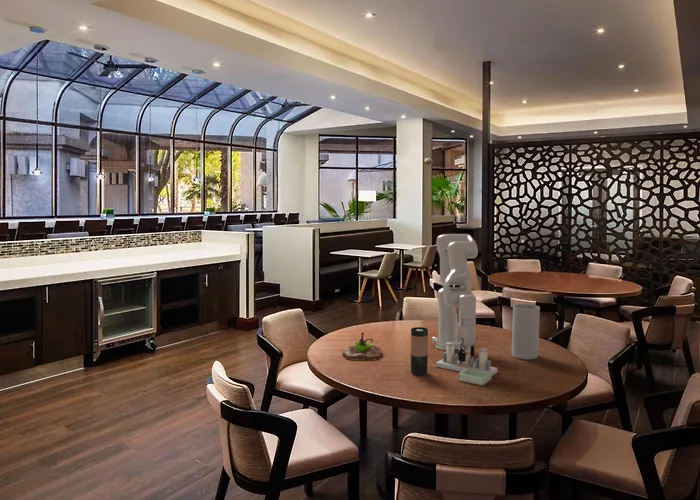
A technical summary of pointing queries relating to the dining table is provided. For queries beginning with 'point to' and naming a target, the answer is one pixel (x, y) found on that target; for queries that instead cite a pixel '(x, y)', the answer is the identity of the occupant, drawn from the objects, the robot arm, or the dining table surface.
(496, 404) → the dining table surface
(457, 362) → the holder
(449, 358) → the cylinder
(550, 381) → the dining table surface
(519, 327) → the cylinder vase
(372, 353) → the plant
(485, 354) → the fuse right
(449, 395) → the dining table surface
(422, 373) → the travel mug
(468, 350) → the fuse marked
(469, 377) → the tray
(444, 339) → the robot arm
